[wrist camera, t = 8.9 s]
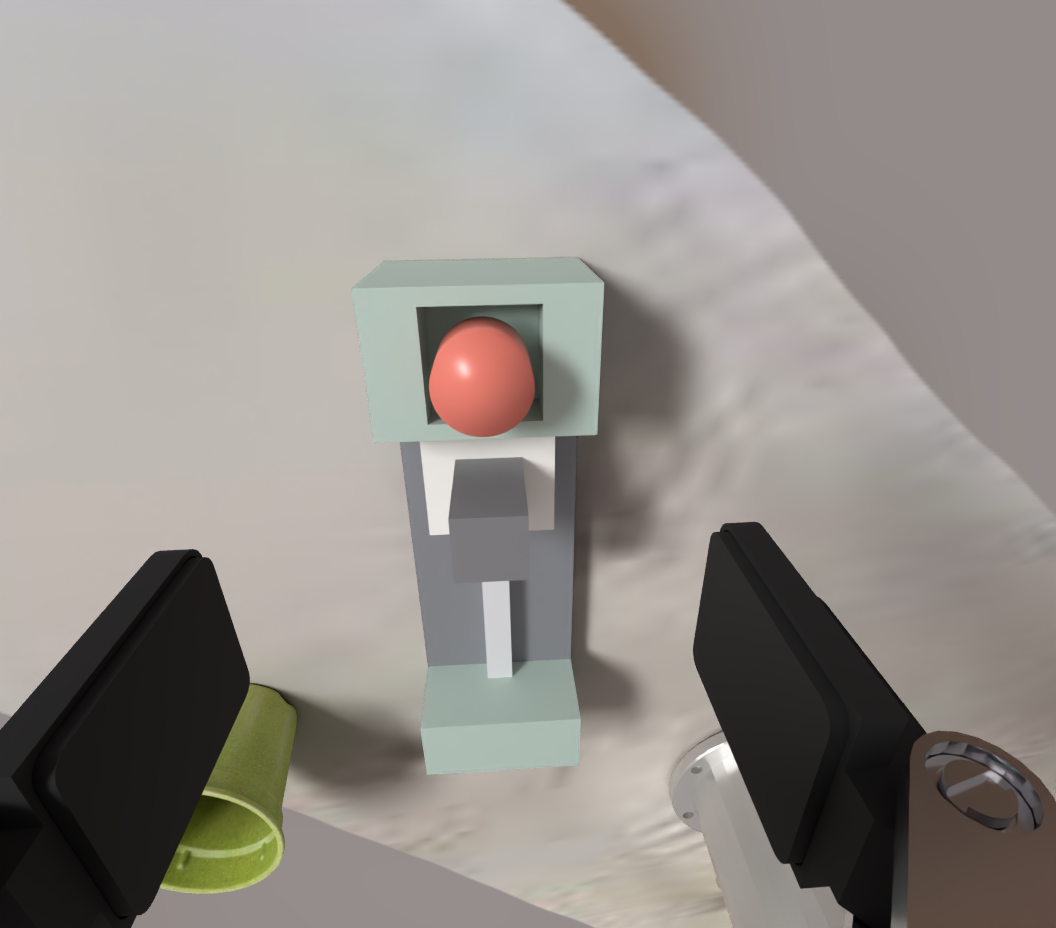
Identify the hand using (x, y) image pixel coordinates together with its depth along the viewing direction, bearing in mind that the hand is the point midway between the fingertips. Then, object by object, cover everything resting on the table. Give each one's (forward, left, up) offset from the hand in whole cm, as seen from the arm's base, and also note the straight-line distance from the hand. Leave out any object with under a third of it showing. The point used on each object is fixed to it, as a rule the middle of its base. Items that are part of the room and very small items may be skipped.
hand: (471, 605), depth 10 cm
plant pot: (-26, +17, -21) cm, 37 cm away
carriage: (-6, 0, -17) cm, 18 cm away
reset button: (0, 0, -14) cm, 14 cm away
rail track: (-11, 0, -20) cm, 23 cm away
